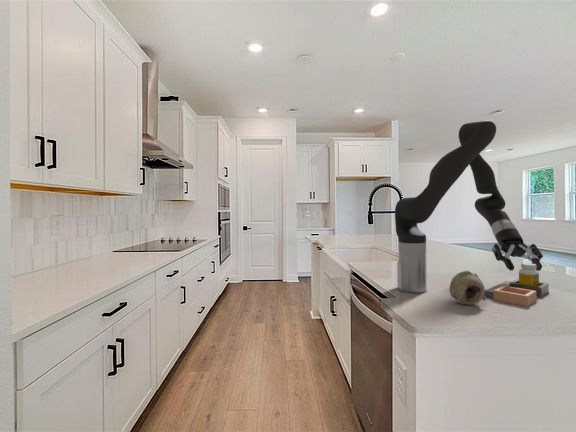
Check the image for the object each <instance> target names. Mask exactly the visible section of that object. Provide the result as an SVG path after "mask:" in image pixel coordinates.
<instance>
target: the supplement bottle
mask: <svg viewBox="0 0 576 432" xmlns="http://www.w3.org/2000/svg"><path fill="white" fill-rule="evenodd" d="M520 265H521V266H520V267H521V269H519V270H518V279H519V284H524V285H530V286H537V287H539V282H540V273H539V272H540V271H536V264H532V263H528V262H527V263H526V262H525V263H524V262H523V263H521V264H520Z"/></svg>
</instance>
